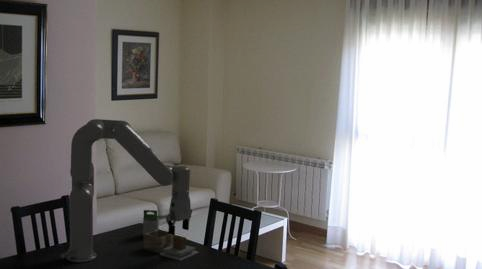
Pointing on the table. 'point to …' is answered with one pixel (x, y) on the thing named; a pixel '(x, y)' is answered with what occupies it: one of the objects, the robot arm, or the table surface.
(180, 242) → the lid
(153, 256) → the table surface
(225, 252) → the table surface
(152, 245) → the keepsake box
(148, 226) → the ink box
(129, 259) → the table surface
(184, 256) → the felt mat
